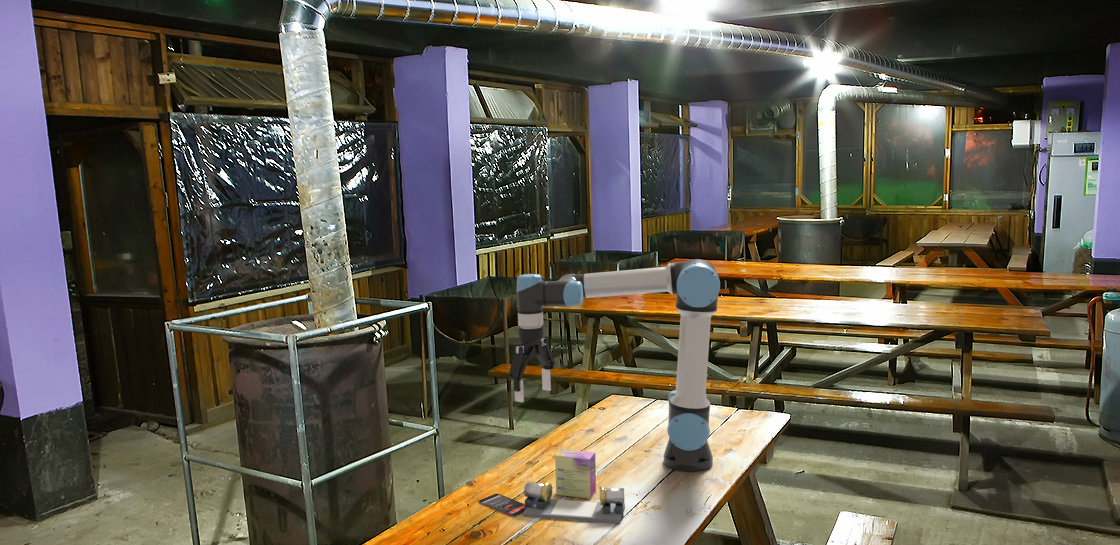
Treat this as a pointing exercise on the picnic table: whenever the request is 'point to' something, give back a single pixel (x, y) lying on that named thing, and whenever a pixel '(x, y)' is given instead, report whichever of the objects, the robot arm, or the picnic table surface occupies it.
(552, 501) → the bed
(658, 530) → the picnic table surface
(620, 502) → the shaft
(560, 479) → the box
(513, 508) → the smartphone
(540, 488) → the shaft
